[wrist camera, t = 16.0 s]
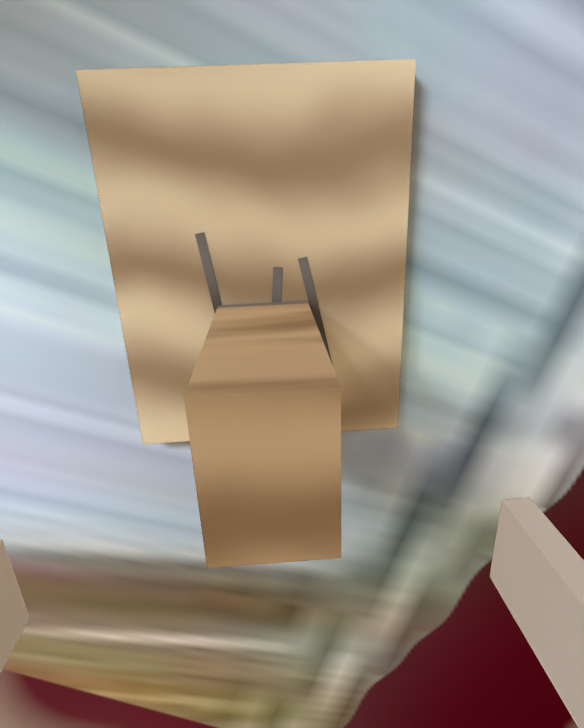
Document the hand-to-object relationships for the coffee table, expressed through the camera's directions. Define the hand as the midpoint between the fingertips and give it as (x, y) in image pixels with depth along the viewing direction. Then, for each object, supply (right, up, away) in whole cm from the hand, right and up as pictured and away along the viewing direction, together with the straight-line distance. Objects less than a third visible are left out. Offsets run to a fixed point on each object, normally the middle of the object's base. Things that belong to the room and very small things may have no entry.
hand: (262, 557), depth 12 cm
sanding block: (-1, +5, +15) cm, 16 cm away
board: (-1, +10, +14) cm, 18 cm away
